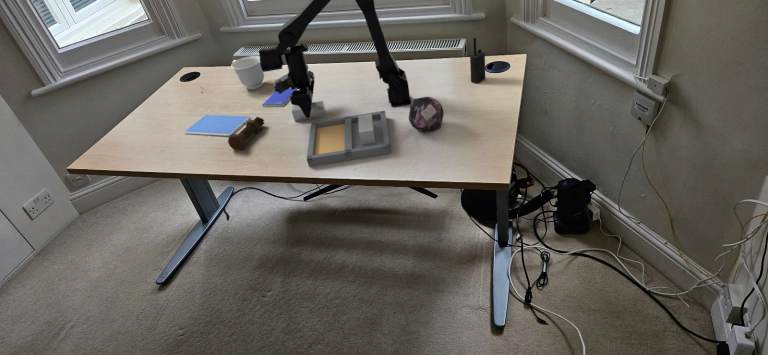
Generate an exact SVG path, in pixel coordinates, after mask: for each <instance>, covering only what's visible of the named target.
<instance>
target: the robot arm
mask: <svg viewBox="0 0 768 355" xmlns="http://www.w3.org/2000/svg"><path fill="white" fill-rule="evenodd" d="M331 1H332V0H310V1H309V2H308V3H307V4H306V5H305V6H304V7H303V9H302V10H301V11H300V12H299V13H298V14H296V15H295V16H293V17H291V18H290V19H289V20H287V21H285V22H284V24H282V25H281V27H280V30H279V32H278V36H277V37H278V41H277V43H276V46H273V47H268V48H266V47H265V48H264V47H263V48H260V49H259V50H258V54H259V56H260V65H261V68H262V70H263V72H271V71H272V72H273V71H279V70H282V69H283V66H285V65H287V69H288V72H287V74H285V75H283V76H281V77H279V78H277V79H276V80H275V81H274V82H273V88H274V92H275V91H276V92H278V93H279V94H281V93H283V92H284V91H285V90H287V89H289V88H291V90H292V89H295V88H296V89H297V90H296V91H293V92H292V93H291V97H290V100H289V102H290V104H291V105H292V106H294V105H297V106H299V107H300V108H301V110H302V112H303V113H304V115H305V116H306V118H310V112H311V105H312V103H313V96H314V88H315V75H314V74H315V73H314V72H312V71H311V70H309V65H308V64H307V61H306V58H305V57H306V56H305V53H304V52H308V51H309V46H310V45H309V44H306V43H305V42H304V41H300V40H301V38H302V36H303V34H304V32H305V31H306V29H307V27H308V25H309V24H311V23H312V21H313V20H314V19H315V18H316V17H317V16H318V15H319V14H320V13H321V12H322V11H323V9H324V8H325V7H326V6H328V4H329V3H330V2H331ZM354 1H355V2H356V4H357V7H359V10H360V11H361V12H362V14H363V16H364V20H365V22H366V24H367V28H368V31H369V34H370V37H371V39H372V43H373V46H374V48H375V51H376V53H377V56H378V59H374V64H375V69H376V71H377V72H378V76H379V80H382V82H383V83H384V84H387V85H388V87H387V88H386V90H387V91H386V92H387V97H388V102H389V104H390V106H391V107H393V108H394V107H399V106H406V105H411V102H412V100H411V96H410V88H409V87H410V86H409V81H408V79H407V78H408V77H407V74H406V71H405V70H403V69H402V68H401V67H399V65H398V62H397V61H396V59H395V58H394V56H393V54H392V53H391V51H390V49H389V46H388V43H387V40H386V37H385V34H384V31H383V28H382V25H381V23H380V19H379V16H378V14H377V10H376V6H375V0H354ZM299 41H300V43H299V44H298V42H299Z"/></svg>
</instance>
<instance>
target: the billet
mask: <svg viewBox="0 0 768 355" xmlns="http://www.w3.org/2000/svg"><path fill="white" fill-rule="evenodd" d="M291 114H292V117H293V121H294V122H299V121H307V120H313V119H319V118H325V117H326V109H325V104H324V100H319V101H312V105H311V112H310V118H306V116H305V115H304V113H303V112H302V110H301V108H300V107H299V106H297V105H292V108H291Z"/></svg>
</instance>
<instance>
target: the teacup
mask: <svg viewBox="0 0 768 355" xmlns="http://www.w3.org/2000/svg"><path fill="white" fill-rule="evenodd" d="M230 67H231V68H232V70H234V71H235V74H236V75H237V76H236V77H237V78H238V80H239V82H240V83H241V84H242V85H243V86H245V87H247V90H257V89H259V88H261V87H262V86H263V83H262V82H263V81H264V79H265V74H264V72H263V70H262V68H261V65H260V55H251V56H246V57H242V58H239V59H237V60H236V59H234V60H232V62H231V65H230Z"/></svg>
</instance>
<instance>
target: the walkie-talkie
mask: <svg viewBox="0 0 768 355" xmlns="http://www.w3.org/2000/svg"><path fill="white" fill-rule="evenodd" d="M469 61H470V62H469V64H470V82H471V83H473V84H480V83H482V82H483V81H485V80H486V53H485V52H483V51H482V49H481V48H478V51H477V38H476V37H473V53H472V54H471V55H470V56H469Z"/></svg>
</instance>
